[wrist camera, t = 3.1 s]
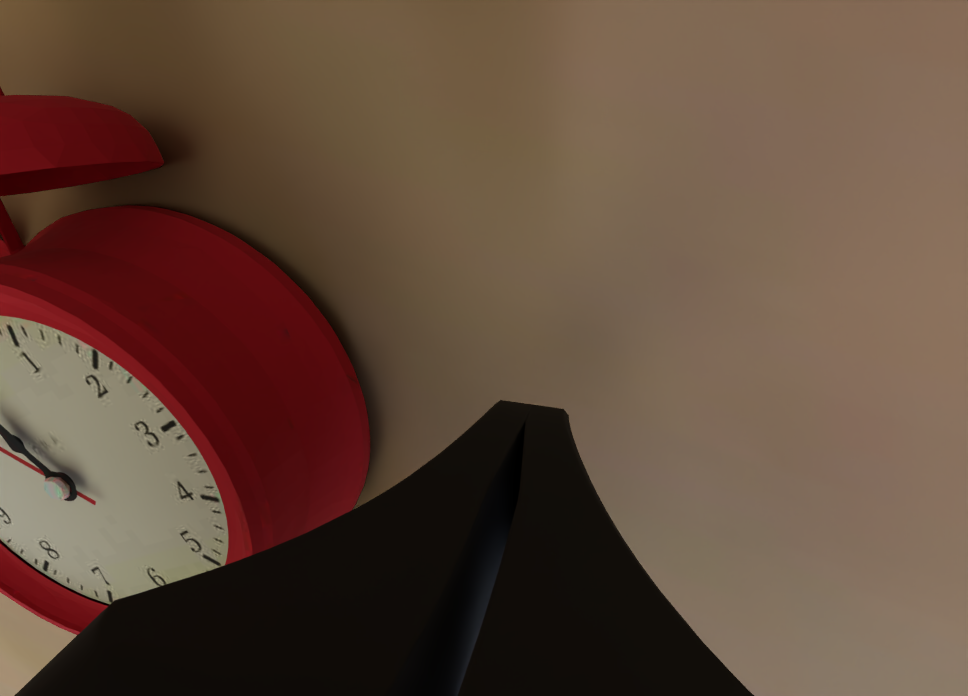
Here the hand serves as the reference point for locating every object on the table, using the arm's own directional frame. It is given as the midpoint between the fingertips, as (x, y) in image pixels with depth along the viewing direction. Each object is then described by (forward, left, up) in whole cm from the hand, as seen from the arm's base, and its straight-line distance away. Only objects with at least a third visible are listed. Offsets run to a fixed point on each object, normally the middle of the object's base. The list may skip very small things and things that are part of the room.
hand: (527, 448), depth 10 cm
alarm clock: (0, +10, -2) cm, 10 cm away
